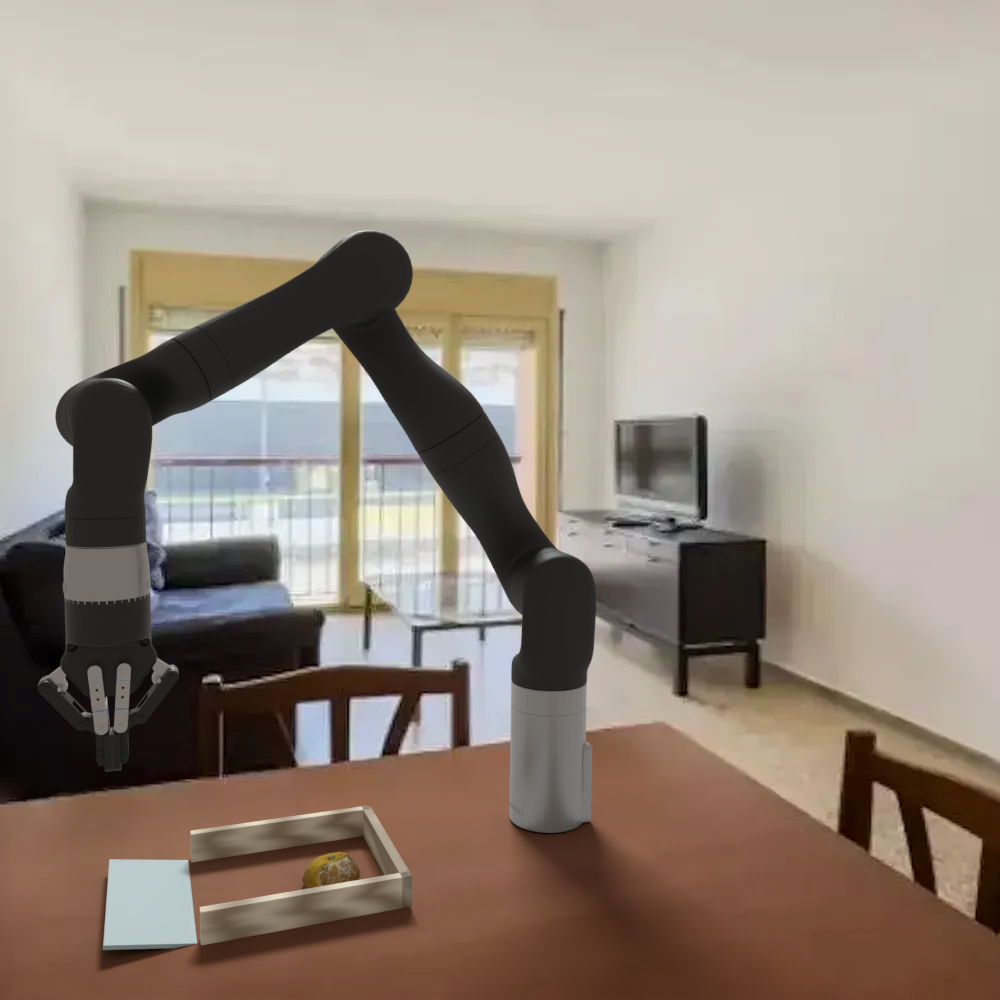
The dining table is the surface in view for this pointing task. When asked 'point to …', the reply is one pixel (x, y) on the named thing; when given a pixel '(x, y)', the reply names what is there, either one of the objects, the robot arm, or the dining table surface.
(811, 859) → the dining table surface
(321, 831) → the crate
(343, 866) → the fruit
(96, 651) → the robot arm
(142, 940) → the panel
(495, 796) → the dining table surface
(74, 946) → the dining table surface
